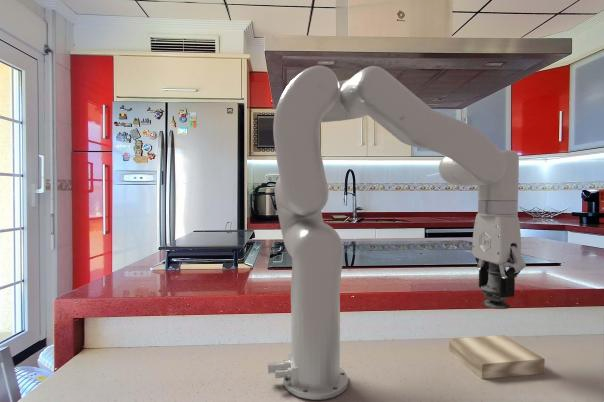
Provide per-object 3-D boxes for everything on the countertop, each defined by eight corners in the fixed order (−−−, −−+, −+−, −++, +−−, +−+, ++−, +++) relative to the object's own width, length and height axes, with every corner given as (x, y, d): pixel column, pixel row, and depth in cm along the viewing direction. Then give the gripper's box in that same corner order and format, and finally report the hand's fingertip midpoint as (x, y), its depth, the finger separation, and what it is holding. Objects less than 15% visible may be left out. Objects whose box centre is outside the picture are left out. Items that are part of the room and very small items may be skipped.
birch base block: (481, 378, 73) (482, 364, 73) (448, 351, 85) (449, 338, 85) (544, 373, 75) (544, 358, 75) (503, 347, 87) (503, 334, 87)
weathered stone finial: (515, 310, 76) (516, 253, 76) (484, 308, 77) (485, 252, 77) (505, 301, 82) (506, 248, 81) (477, 299, 83) (478, 247, 83)
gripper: (458, 206, 87) (457, 282, 87) (510, 212, 70) (508, 306, 70) (487, 205, 88) (485, 280, 89) (545, 211, 71) (543, 303, 72)
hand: (495, 291), depth 80 cm, fingers closed on weathered stone finial, 5 cm apart
